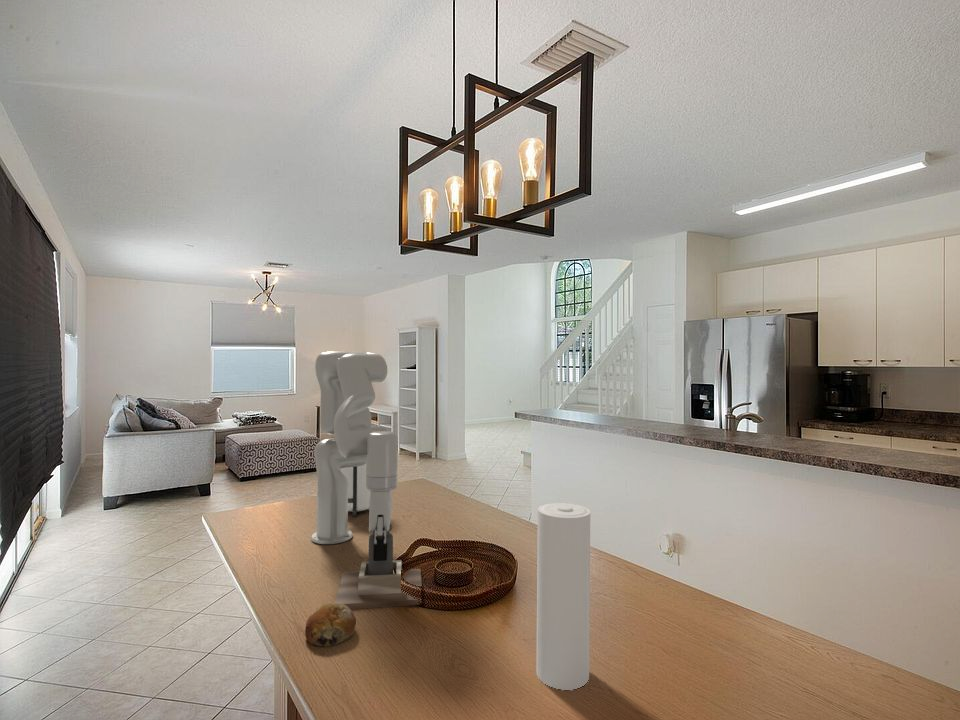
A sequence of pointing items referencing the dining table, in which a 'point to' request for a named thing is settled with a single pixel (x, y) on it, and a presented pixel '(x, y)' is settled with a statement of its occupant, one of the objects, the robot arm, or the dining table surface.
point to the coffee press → (357, 488)
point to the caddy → (376, 588)
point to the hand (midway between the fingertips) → (380, 554)
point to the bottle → (381, 566)
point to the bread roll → (330, 624)
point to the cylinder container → (563, 595)
